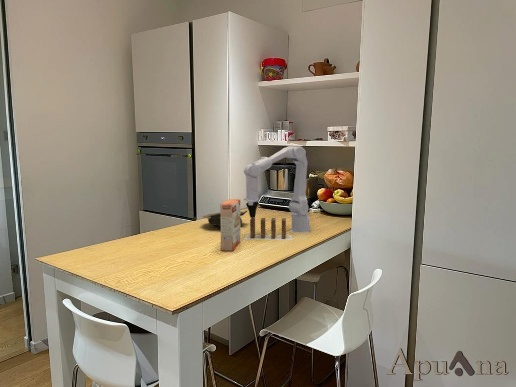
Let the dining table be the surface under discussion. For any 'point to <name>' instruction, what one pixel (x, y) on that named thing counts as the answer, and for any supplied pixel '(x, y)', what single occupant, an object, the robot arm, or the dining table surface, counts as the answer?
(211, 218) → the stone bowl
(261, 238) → the brown wooden block
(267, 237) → the mat
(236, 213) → the cracker box
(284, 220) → the tile
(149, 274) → the dining table surface
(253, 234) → the brown wooden block
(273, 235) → the brown wooden block
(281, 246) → the dining table surface
